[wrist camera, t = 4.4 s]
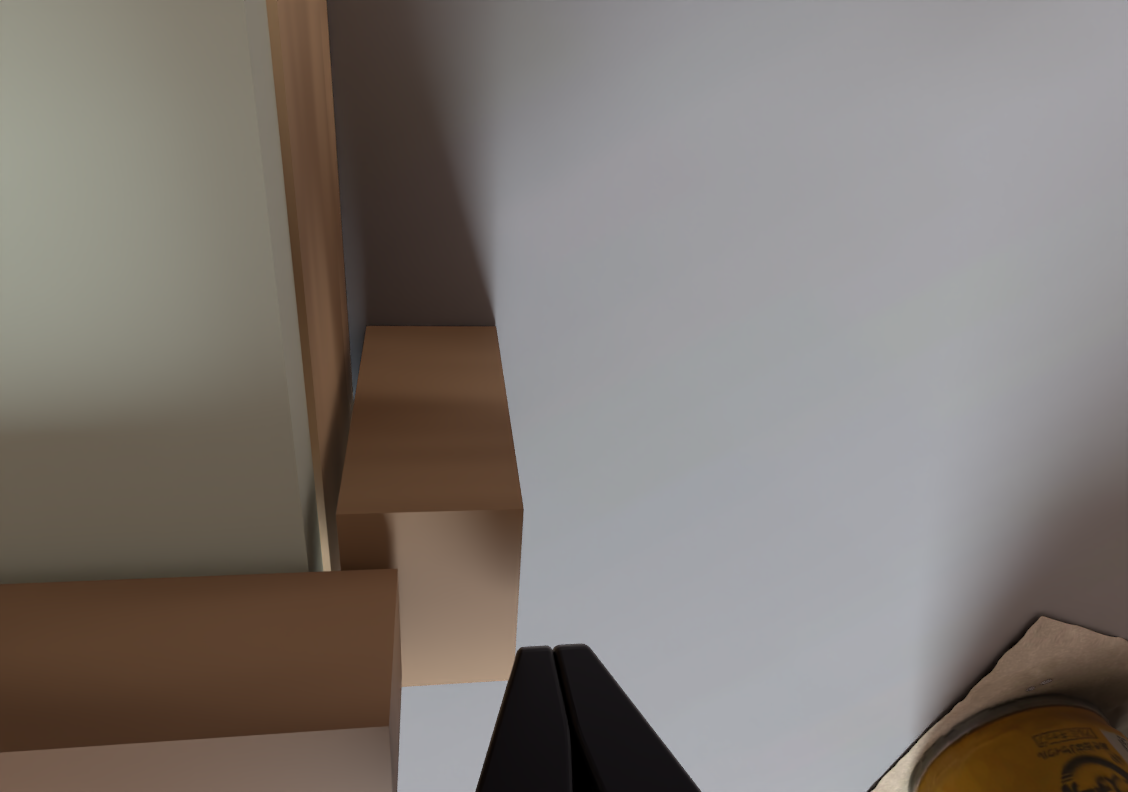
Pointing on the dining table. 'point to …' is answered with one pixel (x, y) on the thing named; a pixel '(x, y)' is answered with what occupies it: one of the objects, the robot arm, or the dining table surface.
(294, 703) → the brown wooden bar
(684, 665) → the dining table surface
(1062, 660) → the yellow can
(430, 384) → the brown shallow open box
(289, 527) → the lid
